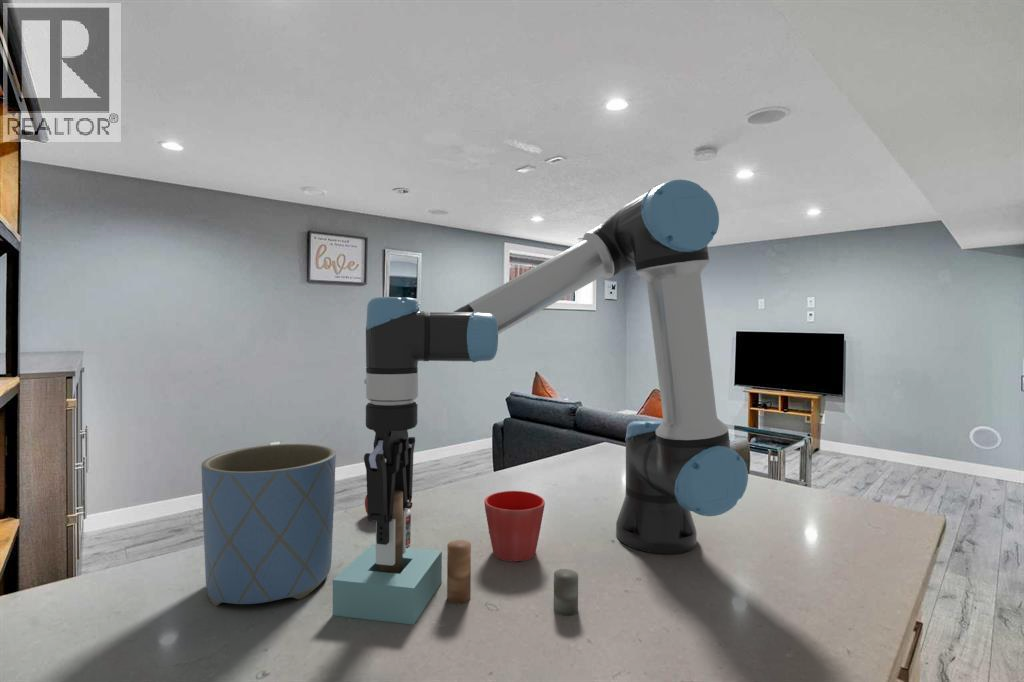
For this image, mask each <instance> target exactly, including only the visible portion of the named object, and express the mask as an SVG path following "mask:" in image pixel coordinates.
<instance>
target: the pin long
mask: <svg viewBox="0 0 1024 682" xmlns="http://www.w3.org/2000/svg"><path fill="white" fill-rule="evenodd" d="M392 519H396V522H395V564H394V565H393V566H391V565H381V564H379V572H386V573H397V574H400V573H401V572H402V571H403V492H402V491H401V490H394V504H393V518H392Z"/></svg>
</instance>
